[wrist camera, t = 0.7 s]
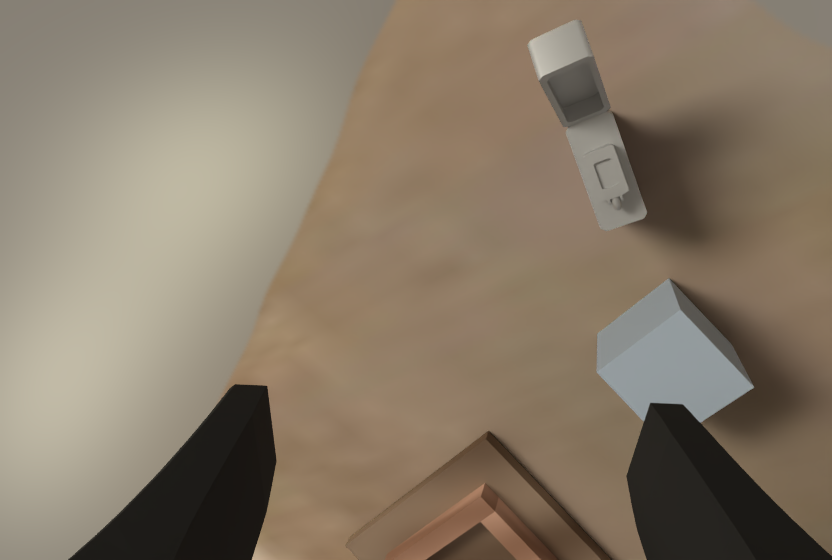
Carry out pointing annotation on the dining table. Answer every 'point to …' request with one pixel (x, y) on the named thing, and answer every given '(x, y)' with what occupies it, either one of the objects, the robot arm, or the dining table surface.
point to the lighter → (588, 123)
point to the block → (670, 356)
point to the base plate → (475, 516)
